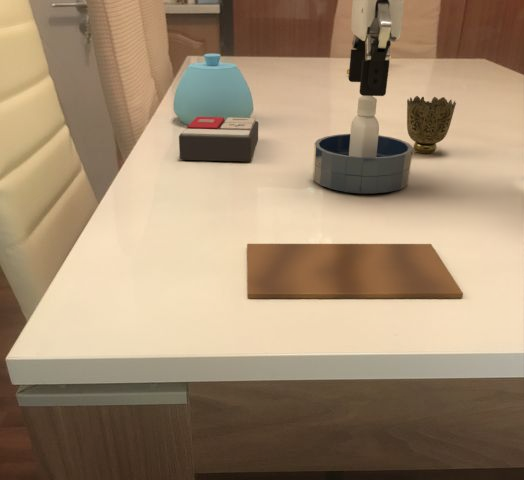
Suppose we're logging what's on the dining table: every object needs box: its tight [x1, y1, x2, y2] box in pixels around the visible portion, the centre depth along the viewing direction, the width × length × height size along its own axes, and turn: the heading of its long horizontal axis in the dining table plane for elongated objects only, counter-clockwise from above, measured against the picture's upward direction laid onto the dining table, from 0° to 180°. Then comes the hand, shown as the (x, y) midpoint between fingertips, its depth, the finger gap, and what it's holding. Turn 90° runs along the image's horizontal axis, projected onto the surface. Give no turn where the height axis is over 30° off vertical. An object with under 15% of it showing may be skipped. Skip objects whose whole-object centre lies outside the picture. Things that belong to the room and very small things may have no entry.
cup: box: [406, 95, 457, 155], centre depth 102 cm, size 8×7×8 cm
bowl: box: [312, 133, 414, 195], centre depth 89 cm, size 13×13×5 cm
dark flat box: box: [178, 117, 259, 163], centre depth 103 cm, size 11×4×15 cm
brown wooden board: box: [246, 243, 464, 299], centre depth 64 cm, size 20×12×1 cm, turn 91°
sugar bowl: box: [173, 53, 254, 126], centre depth 119 cm, size 15×15×12 cm
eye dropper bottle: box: [349, 95, 380, 157], centre depth 87 cm, size 4×6×12 cm
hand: (365, 88), depth 84 cm, fingers open, 9 cm apart
